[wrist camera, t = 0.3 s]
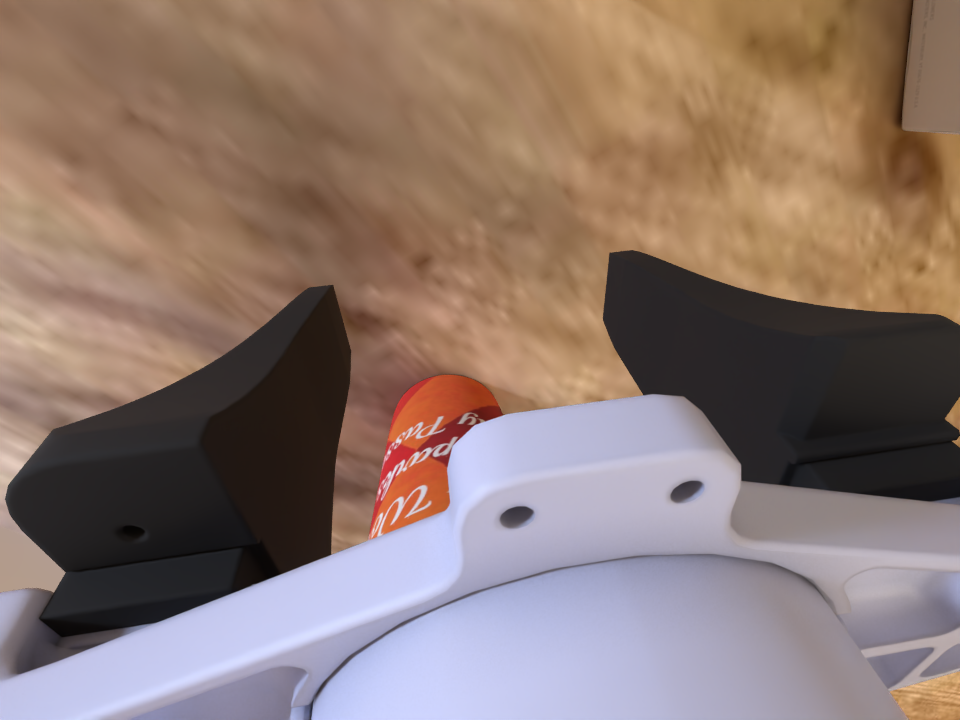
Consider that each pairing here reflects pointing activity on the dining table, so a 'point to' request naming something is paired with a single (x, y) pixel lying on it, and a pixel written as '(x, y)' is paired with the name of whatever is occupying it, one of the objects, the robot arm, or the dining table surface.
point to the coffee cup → (426, 448)
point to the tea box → (933, 68)
